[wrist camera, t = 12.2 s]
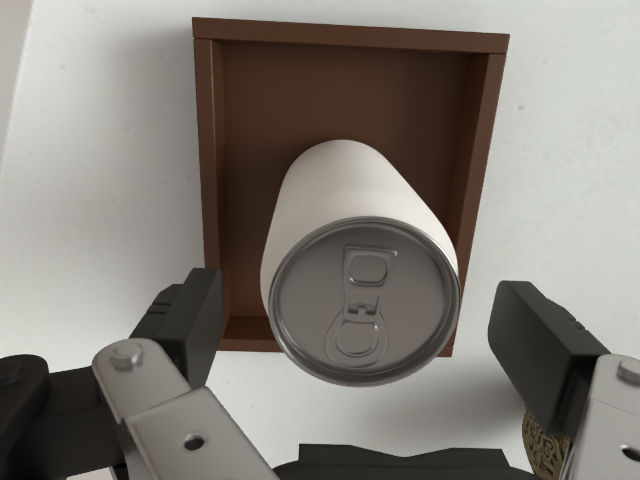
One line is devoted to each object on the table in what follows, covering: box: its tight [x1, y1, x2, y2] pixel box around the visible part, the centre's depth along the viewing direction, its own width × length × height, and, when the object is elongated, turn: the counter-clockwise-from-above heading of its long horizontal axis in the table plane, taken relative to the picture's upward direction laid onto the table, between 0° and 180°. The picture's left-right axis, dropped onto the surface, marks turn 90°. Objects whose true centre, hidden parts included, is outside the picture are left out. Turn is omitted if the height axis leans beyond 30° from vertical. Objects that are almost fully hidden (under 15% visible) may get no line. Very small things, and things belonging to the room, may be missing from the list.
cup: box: [522, 404, 570, 480], centre depth 26 cm, size 8×7×8 cm
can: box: [260, 140, 461, 387], centre depth 18 cm, size 6×6×12 cm
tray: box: [192, 17, 510, 357], centre depth 23 cm, size 17×14×3 cm
